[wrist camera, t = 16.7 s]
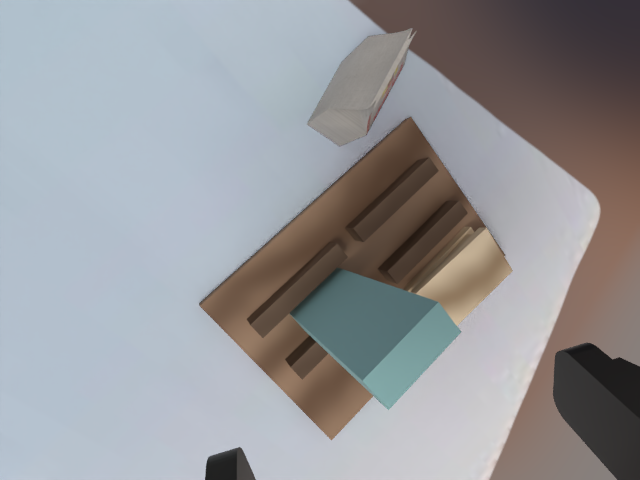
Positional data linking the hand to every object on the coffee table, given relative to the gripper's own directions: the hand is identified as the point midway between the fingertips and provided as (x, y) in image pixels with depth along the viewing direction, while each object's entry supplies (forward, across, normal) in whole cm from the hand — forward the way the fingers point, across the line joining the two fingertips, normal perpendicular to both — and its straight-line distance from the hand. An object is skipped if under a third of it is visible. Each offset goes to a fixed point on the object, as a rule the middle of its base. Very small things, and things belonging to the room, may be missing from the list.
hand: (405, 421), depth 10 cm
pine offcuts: (+27, -13, +16) cm, 34 cm away
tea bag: (+32, -6, -3) cm, 33 cm away
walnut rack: (+27, -5, +13) cm, 30 cm away
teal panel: (+25, 0, +12) cm, 28 cm away
